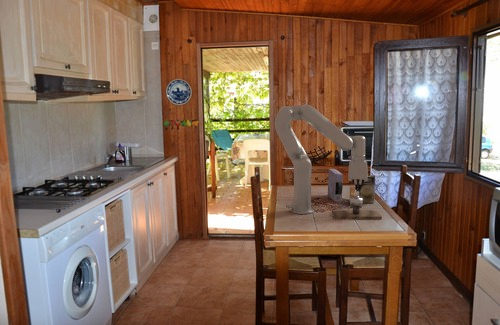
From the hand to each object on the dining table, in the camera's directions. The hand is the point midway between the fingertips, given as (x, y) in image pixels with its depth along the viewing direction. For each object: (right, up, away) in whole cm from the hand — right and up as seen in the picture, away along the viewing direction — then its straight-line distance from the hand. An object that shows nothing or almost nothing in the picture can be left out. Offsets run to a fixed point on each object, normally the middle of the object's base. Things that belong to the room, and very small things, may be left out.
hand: (357, 191), depth 226 cm
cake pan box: (-6, -7, +31) cm, 33 cm away
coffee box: (+11, -8, +22) cm, 26 cm away
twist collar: (-3, -6, -4) cm, 8 cm away
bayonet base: (-3, -13, -8) cm, 15 cm away
